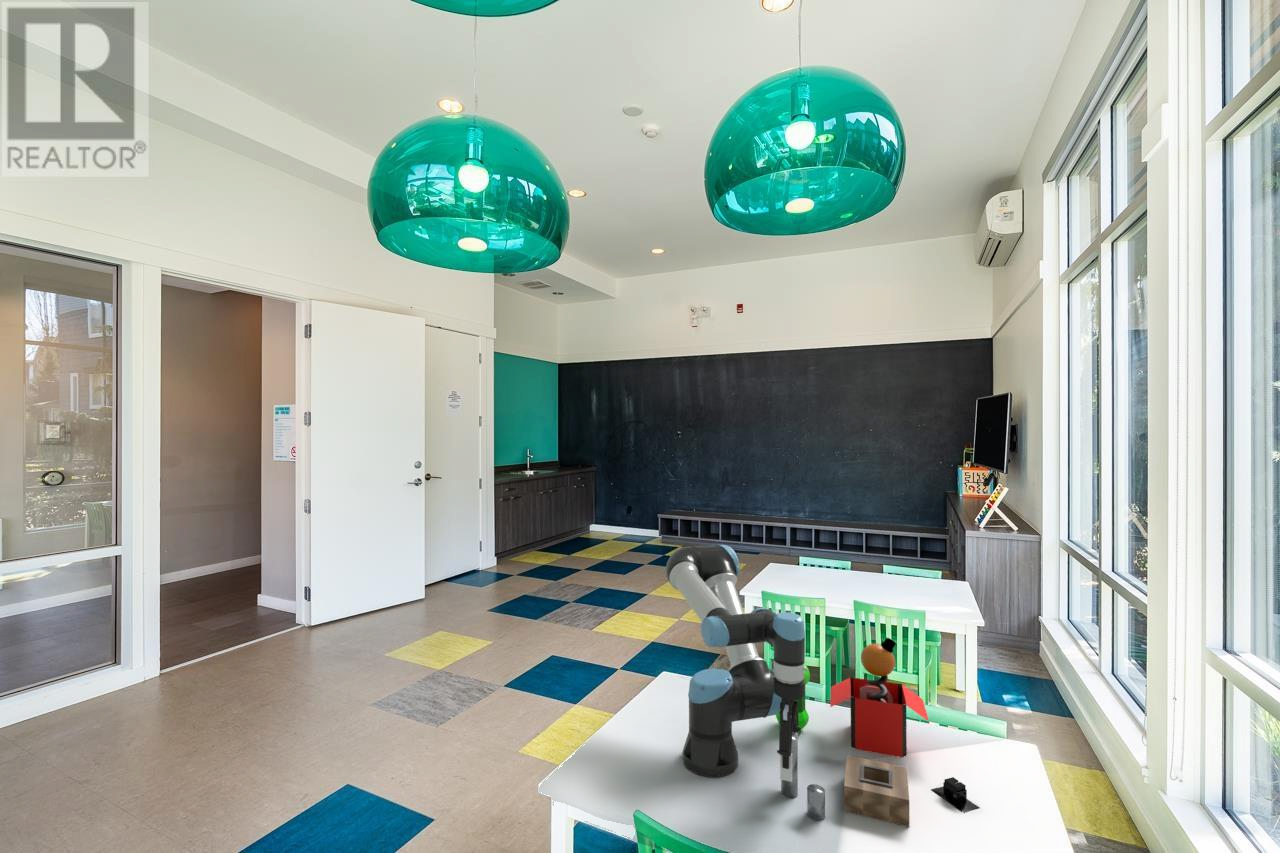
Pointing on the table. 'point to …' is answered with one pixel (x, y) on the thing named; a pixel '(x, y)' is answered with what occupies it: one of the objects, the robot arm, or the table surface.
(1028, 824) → the table surface
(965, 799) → the black notched mounting plate
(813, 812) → the short pin
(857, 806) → the hole block
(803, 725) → the plastic bottle
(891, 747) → the jack-in-the-box
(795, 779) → the long pin
